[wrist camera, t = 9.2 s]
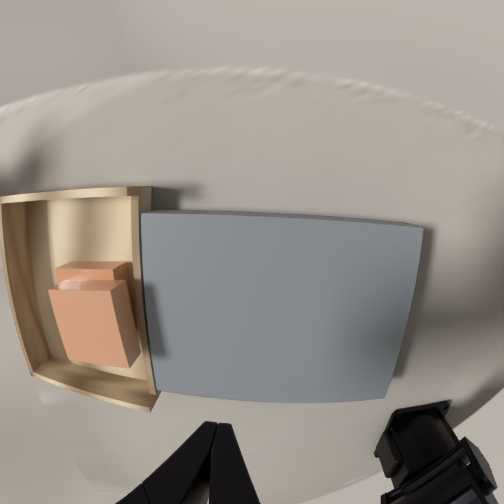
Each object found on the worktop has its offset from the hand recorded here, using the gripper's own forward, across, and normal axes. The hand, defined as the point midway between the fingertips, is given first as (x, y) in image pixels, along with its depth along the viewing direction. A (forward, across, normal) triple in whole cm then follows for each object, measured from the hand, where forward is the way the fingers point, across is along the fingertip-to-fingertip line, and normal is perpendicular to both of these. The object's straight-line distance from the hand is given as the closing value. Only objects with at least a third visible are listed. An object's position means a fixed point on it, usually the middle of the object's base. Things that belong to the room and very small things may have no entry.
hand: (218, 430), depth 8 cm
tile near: (+9, +9, +1) cm, 13 cm away
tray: (+11, +12, 0) cm, 16 cm away
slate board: (+11, -2, 0) cm, 11 cm away
